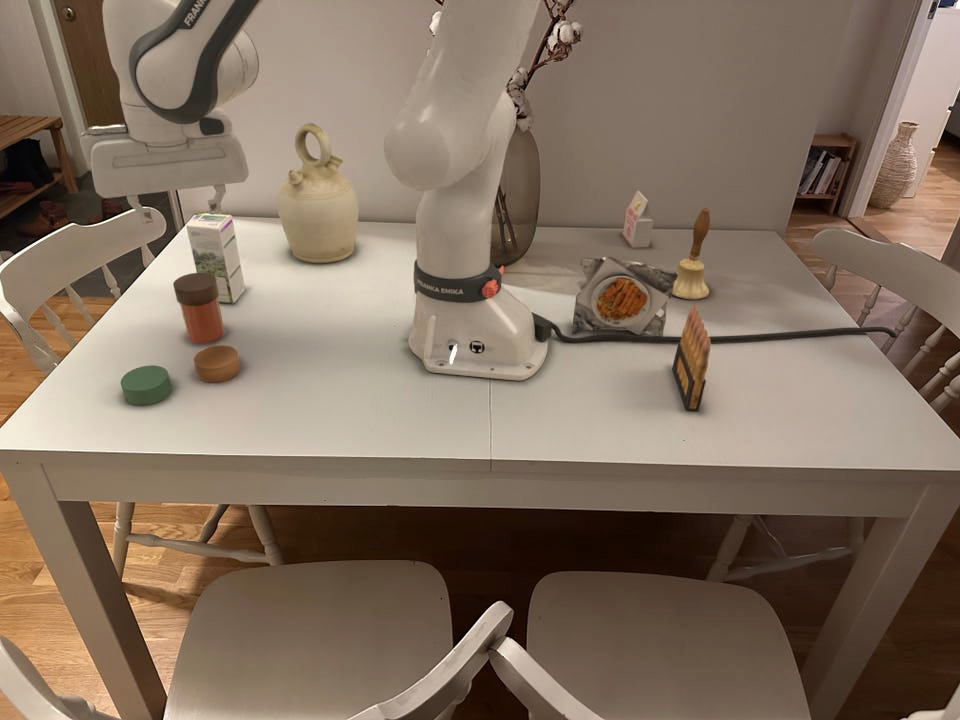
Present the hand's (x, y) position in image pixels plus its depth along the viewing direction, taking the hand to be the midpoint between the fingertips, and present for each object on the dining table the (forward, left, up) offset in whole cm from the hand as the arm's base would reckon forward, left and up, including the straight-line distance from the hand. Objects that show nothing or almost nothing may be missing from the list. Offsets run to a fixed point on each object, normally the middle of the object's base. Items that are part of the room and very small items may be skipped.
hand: (182, 217), depth 100 cm
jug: (-2, -35, -20) cm, 40 cm away
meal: (-63, -24, -20) cm, 70 cm away
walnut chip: (0, 0, -13) cm, 13 cm away
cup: (0, 0, -20) cm, 20 cm away
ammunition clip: (-75, -12, -20) cm, 78 cm away
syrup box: (+5, -12, -20) cm, 24 cm away
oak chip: (-8, +8, -20) cm, 23 cm away
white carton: (-61, -64, -20) cm, 90 cm away
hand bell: (-73, -45, -20) cm, 88 cm away
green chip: (-2, +16, -20) cm, 26 cm away
